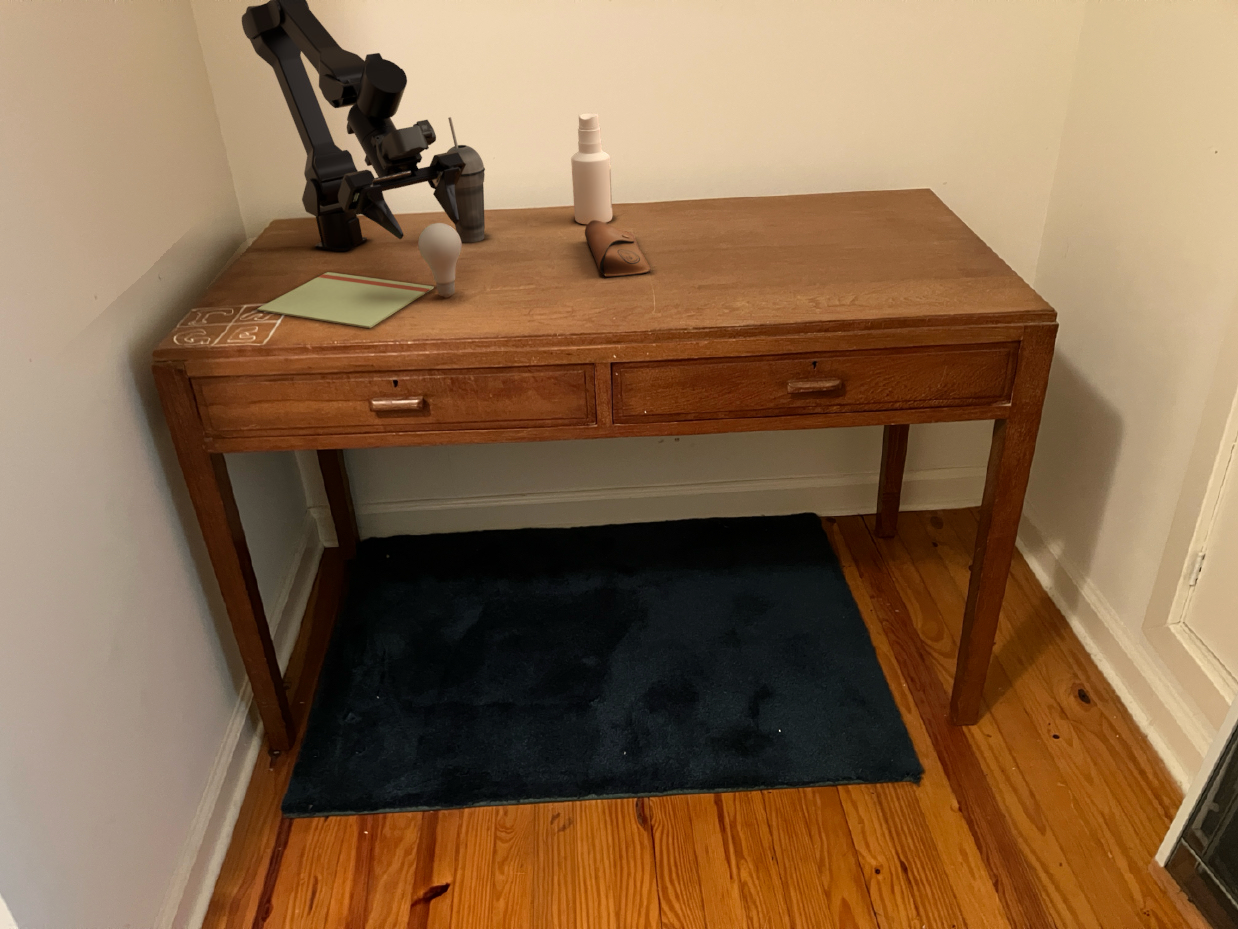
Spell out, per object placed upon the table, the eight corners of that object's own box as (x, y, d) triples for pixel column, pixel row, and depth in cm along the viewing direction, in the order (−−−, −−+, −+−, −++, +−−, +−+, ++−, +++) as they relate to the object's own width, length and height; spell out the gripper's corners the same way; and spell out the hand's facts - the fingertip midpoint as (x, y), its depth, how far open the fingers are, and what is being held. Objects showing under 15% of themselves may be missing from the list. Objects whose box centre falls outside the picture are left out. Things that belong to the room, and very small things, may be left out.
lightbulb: (428, 290, 138) (417, 218, 132) (469, 288, 138) (460, 216, 132) (424, 306, 132) (413, 231, 127) (466, 303, 133) (457, 229, 127)
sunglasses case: (654, 269, 140) (631, 234, 137) (616, 295, 142) (593, 261, 138) (633, 234, 155) (612, 202, 152) (599, 257, 157) (577, 226, 153)
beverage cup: (484, 245, 155) (470, 122, 144) (444, 244, 156) (427, 121, 145) (498, 232, 161) (485, 112, 150) (458, 230, 162) (443, 112, 151)
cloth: (257, 310, 133) (257, 308, 133) (328, 273, 146) (327, 271, 145) (369, 328, 126) (369, 326, 126) (433, 288, 139) (433, 286, 138)
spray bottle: (617, 215, 167) (614, 111, 157) (605, 226, 161) (600, 119, 152) (582, 212, 169) (577, 110, 159) (569, 223, 163) (562, 118, 154)
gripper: (329, 113, 121) (384, 212, 120) (450, 92, 131) (501, 183, 130) (316, 164, 131) (367, 256, 129) (430, 141, 141) (478, 226, 139)
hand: (430, 229), depth 132 cm, fingers open, 9 cm apart
